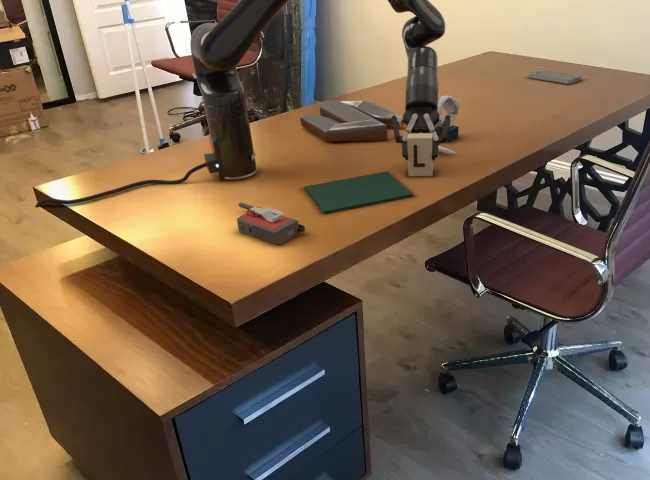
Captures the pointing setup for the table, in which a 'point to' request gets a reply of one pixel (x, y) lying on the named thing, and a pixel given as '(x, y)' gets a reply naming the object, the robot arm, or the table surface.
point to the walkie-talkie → (268, 224)
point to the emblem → (349, 121)
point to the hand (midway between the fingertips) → (420, 158)
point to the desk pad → (357, 192)
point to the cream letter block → (420, 154)
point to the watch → (452, 109)
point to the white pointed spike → (445, 150)
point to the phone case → (555, 76)
